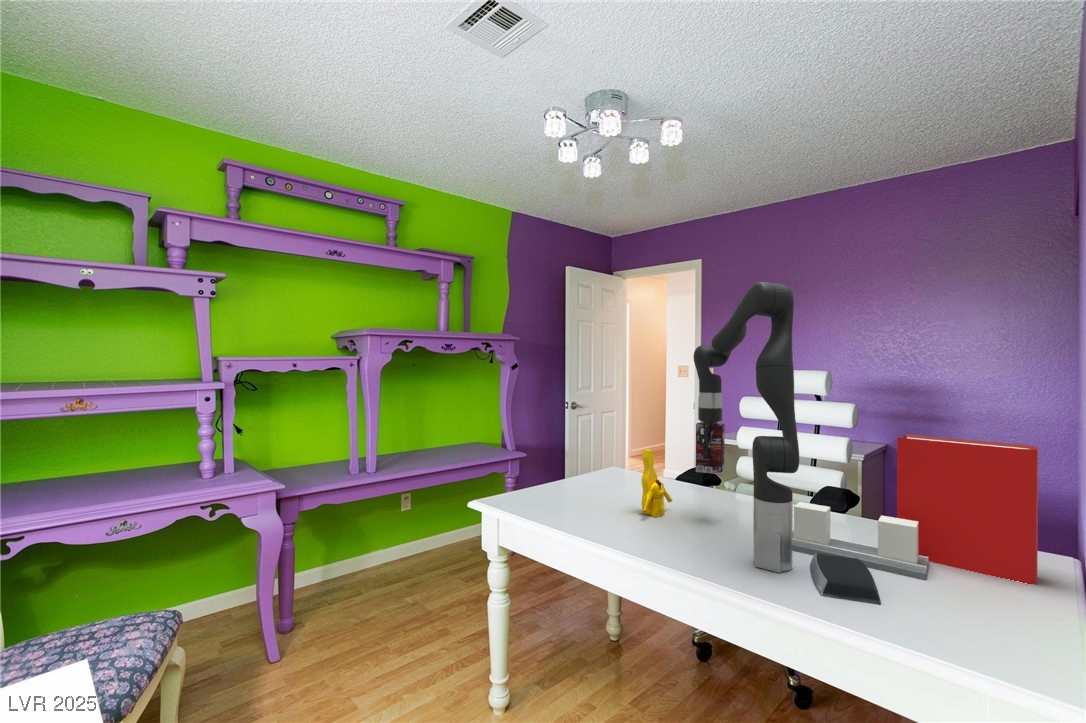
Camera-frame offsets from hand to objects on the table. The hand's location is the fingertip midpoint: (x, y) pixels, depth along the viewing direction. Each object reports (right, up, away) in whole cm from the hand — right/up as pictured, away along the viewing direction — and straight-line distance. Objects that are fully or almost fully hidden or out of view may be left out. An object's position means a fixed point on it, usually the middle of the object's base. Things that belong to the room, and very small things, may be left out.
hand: (710, 457), depth 166 cm
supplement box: (0, -5, 0) cm, 5 cm away
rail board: (+29, -21, -29) cm, 46 cm away
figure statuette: (-17, -21, +8) cm, 28 cm away
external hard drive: (+17, -22, -45) cm, 53 cm away
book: (+54, -21, -35) cm, 68 cm away
